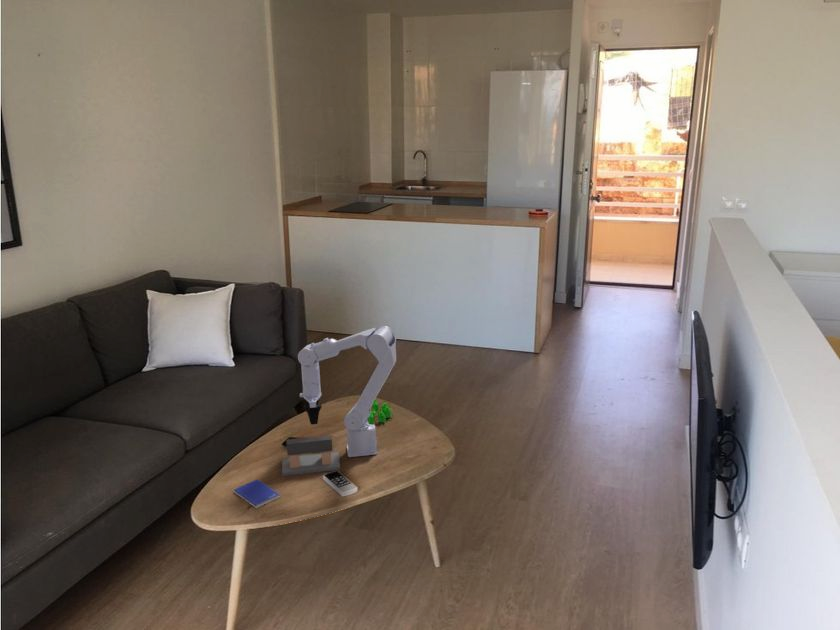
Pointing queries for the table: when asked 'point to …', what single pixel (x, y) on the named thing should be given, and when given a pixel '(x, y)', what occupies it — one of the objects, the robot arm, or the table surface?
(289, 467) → the display stand
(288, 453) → the dark gray bar
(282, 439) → the table surface
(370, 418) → the green bumpy cluster
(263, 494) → the hard drive
